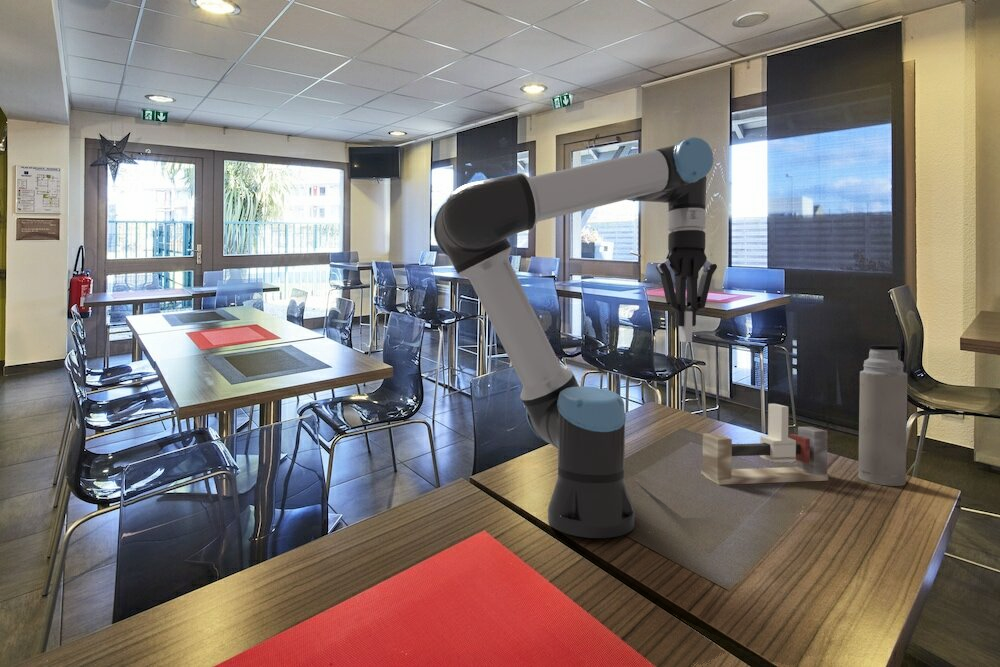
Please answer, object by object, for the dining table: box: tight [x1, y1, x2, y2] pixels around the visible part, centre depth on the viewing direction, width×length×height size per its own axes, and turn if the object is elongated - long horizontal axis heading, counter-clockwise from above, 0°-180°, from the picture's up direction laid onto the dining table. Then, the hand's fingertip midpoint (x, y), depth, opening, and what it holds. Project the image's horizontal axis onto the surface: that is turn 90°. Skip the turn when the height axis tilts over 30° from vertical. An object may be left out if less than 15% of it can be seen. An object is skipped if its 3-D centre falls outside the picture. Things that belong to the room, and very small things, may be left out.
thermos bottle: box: [857, 344, 908, 487], centre depth 110 cm, size 8×8×28 cm
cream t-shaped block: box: [759, 403, 797, 463], centre depth 112 cm, size 5×4×11 cm
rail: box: [700, 426, 829, 486], centre depth 112 cm, size 24×7×10 cm, turn 97°
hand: (685, 341), depth 115 cm, fingers closed
